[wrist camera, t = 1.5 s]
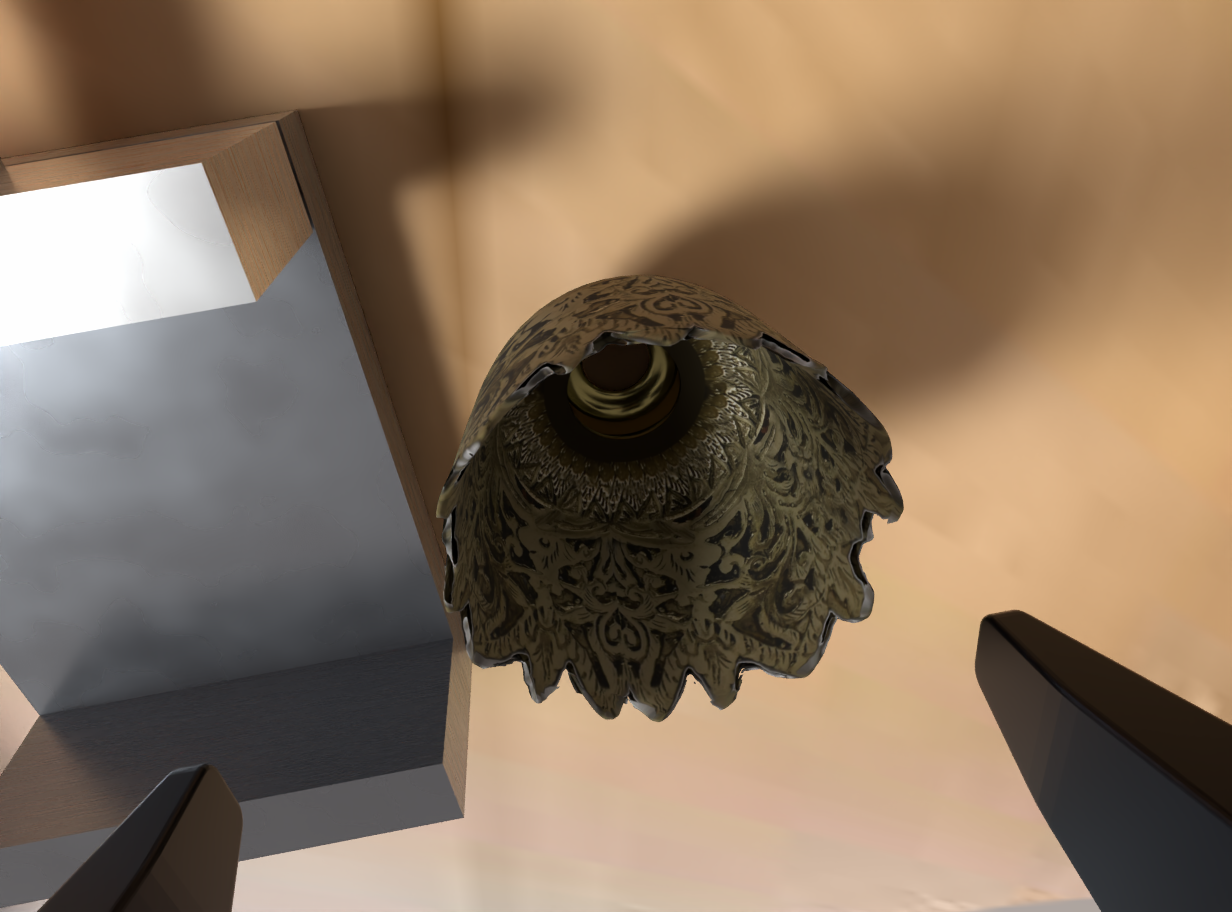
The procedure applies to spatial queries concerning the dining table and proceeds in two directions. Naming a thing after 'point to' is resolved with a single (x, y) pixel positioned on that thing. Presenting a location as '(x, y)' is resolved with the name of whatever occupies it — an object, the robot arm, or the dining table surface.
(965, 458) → the dining table surface
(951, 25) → the dining table surface
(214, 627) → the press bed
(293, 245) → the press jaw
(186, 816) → the robot arm
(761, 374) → the ornate bronze lampshade
